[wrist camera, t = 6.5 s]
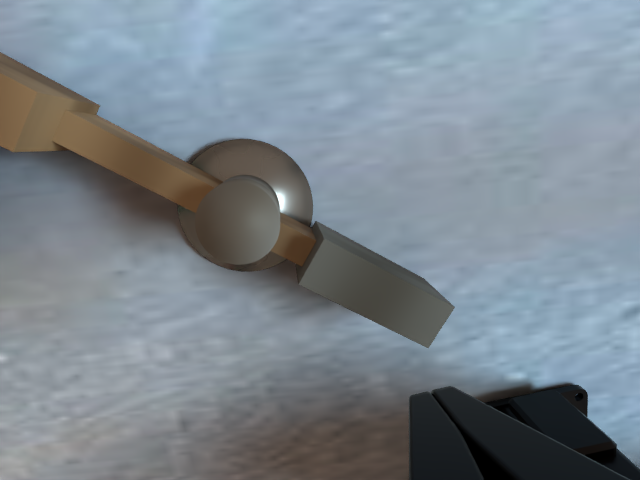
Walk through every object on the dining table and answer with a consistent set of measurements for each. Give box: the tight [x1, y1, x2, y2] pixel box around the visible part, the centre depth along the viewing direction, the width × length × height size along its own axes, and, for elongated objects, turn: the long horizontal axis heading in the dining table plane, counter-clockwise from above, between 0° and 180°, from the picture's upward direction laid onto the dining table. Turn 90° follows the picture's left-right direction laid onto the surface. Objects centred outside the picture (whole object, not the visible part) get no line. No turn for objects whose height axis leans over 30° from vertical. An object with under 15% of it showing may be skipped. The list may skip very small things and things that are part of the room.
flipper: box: [0, 52, 455, 348], centre depth 15 cm, size 22×3×4 cm, turn 61°
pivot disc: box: [178, 139, 313, 271], centre depth 18 cm, size 6×6×1 cm
